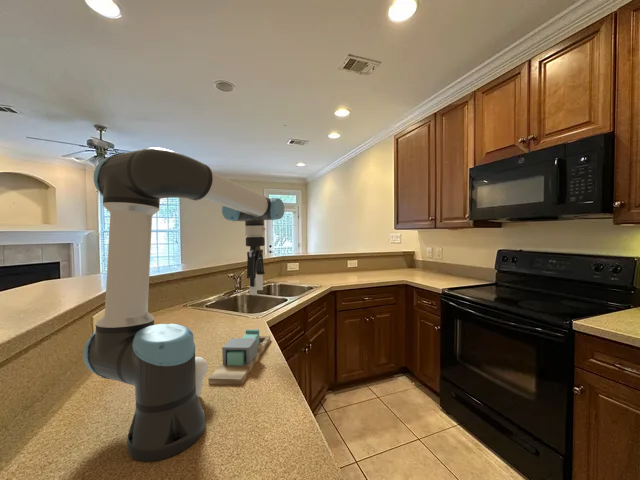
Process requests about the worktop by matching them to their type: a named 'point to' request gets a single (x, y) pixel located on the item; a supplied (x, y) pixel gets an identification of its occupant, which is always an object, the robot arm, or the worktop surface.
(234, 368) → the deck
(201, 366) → the lightbulb
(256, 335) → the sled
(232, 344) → the tunnel
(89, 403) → the worktop surface
